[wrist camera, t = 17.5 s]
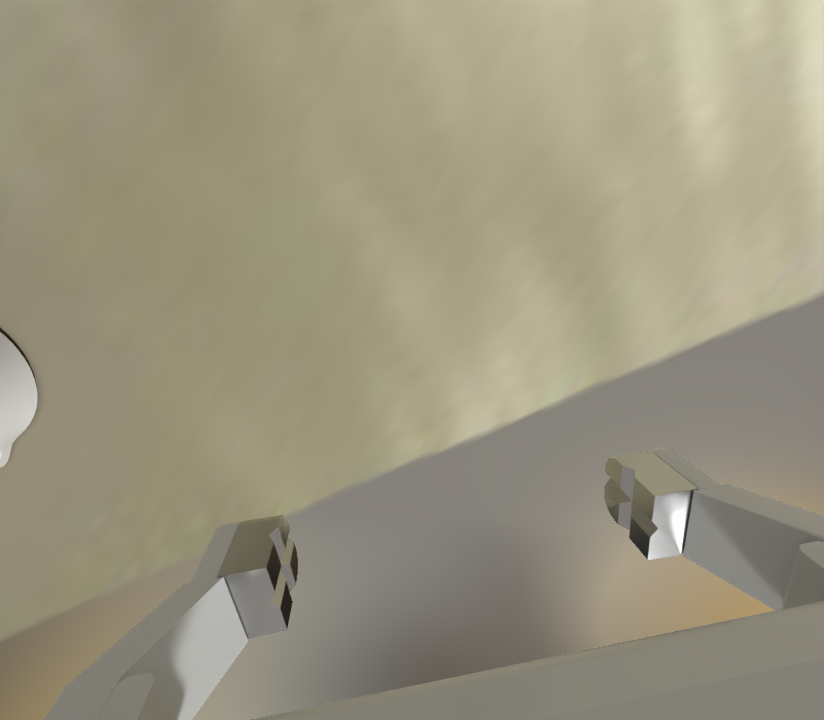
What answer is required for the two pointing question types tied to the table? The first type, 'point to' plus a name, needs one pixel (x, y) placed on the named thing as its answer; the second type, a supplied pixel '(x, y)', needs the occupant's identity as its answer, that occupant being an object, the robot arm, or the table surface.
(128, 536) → the table surface
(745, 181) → the table surface
